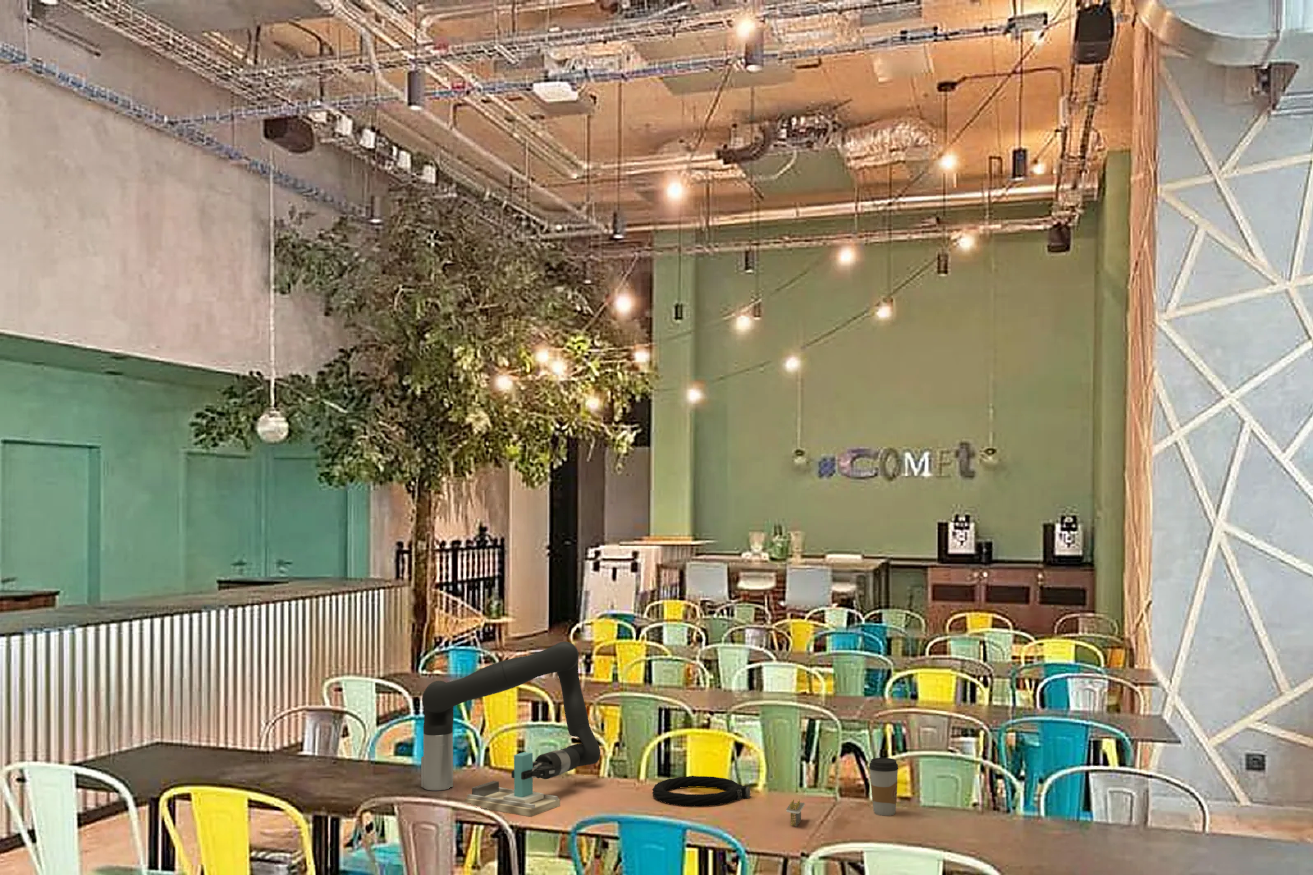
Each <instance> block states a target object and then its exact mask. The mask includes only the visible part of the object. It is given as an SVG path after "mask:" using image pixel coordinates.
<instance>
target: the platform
mask: <svg viewBox="0 0 1313 875" xmlns="http://www.w3.org/2000/svg"><path fill="white" fill-rule="evenodd" d="M805 805H806V803H805V802H801V800H800V799H798V801H797V802H795V799H794V798H792V800H791V802H790V803H789V804H788V806H787V807H786V810H785V811H786V813H790V826H795V828H797V827H798V826H799V825H800V822H801V821H802V810H803V809H804V807H805Z"/></svg>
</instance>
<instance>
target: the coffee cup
mask: <svg viewBox="0 0 1313 875" xmlns="http://www.w3.org/2000/svg"><path fill="white" fill-rule="evenodd" d="M868 768H869V774H870V775H869V776H870V789H871V802H872V809H873V810H872V812H874V814H875V815H877V816H887V817H888V816H889V817H890V816H893V815H895V814H896V811H897V801H898V800H897V798H898V774H899V773H898V772H899V764H898V763H897V760H896V759H895V758H890V757H874V758H871V759H870V762H869V767H868Z"/></svg>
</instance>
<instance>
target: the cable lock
mask: <svg viewBox="0 0 1313 875" xmlns="http://www.w3.org/2000/svg"><path fill="white" fill-rule="evenodd" d="M688 786H705V787H704V788H708V787H717V788H716V789H718V788H720V789H719V790H722V789H723V791H720V792H716V793H704V794H703V793H702V794H701V793H699V794H696V793H695V794H692V793H691V794H689V793H681V792H679V793H678V792H673V791H672V789H673V790H677V788H678V789H681V788H680V787H688ZM688 788H689V787H688ZM651 794H652V796H653V798H654V799H655V800H658V801H659V802H661V801H662V802H661V803H665V802H666V803H665V804H667V803H669V804H668V805H671V804H673V805H674V804H675V806H680V805H681V806H680V807H710V806H709V805H714V806H719V805H725V804H724V803H726V804H729V802H730V803H731V802H734V801H740V800H746V799H750V798H751V787H750V785H748V786H747V785H743V784H740V783H737V782H736V781H734V780H733V779H729V778H725V777H717V776H707V775H706V776H704V775H703V776H702V775H701V776H700V775H699V776H698V775H688V776H677V777H675V778H667V779H664V780H662V781H658V782H657V783H656V784H654V786H653V787H652V793H651Z"/></svg>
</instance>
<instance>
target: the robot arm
mask: <svg viewBox="0 0 1313 875" xmlns="http://www.w3.org/2000/svg"><path fill="white" fill-rule="evenodd" d="M579 653H580V652H579V650H578V648H577V647H576V646H575V645H574V644H573V643H572V642H570V641H569V642H568V641H560V642H557V643H555V644H554V645H551V646H550V647H548V648H545V649H543V650H539V651H537V652H535V653H532V654H529V655H523V656H522V655H521V656H517V657H513V658H508V659H504V660H502V661H499V662H495V663H492V664H490V665H487V666H484V667H482V668H480V669H478V670H477V671H474V672H472V673H470V674H468V675H467V676H464V677H462V678H459V679H456V680H451V681H443V680H435V681H433V682H431V683H430V684H428V685H427V687H426V688H425V689H424V691H423V693H422V696H421V697H422V698H421V700H422V705H423V707H424V714H423V716H424V719H423V720H424V721H423V728H422V730H423V732H422V733H423V756H421V759H420V765H421V769H420V770H421V771H420V772H421V773H420V774H421V775H420V776H421V777H420V779H421V780H420V782H421V784H420V786H421V788H423V789H424V790H428V791H444V790H449V788H450V787H452V788H453V787H454V735H453V734H454V730H453V729H454V708H455V707H456V706H458V705H461V704H462V703H463V704H464V703H465V702H468V701H471V700H475V699H480V698H485V697H487V696H491V695H495V694H499V693H502V692H505V691H509V690H510V689H514V688H516V687H519V686H522V685H524V684H526V683H527V682H530V681H532V680H534V679H537V678H539V677H543V676H545V675H550V674H554V673H557V677H558V680H559V684H560V688H561V694H562V702H563V710H564V715H565V720H566V721H565V722H566V727H567V731H568V734H569V735H570V737H573V738H574V737H575V738H578V739H579V740H580V742H581V743H574V744H572V745H568V746H566V747H565V748H561V749H557V750H552V751H551V750H550V751H548V752H545V753H542V754H539V755H538V756H537V757H536V758H535V760H534V761H533V768H532V769H531V770H527V771H524V772H521V779H522V780H525V779H528V778H533V779H534V778H537V779H542V780H548V779H552V778H555V777H557V776H561V775H564V773H566V772H570V771H572V770H574V769H576V768H578V767H582V766H590V765H595V764H597V763H598V762H599V761H600V757H601V749H600V745H599V742H598V741H597V738H596V737H595V735H594V733H593V730H592V728H591V725H590V720H589V716H588V711H587V707H586V703H585V698H584V696H583V695H584V694H583V691H582V688H581V681H580V675H579V659H580V658H579V657H580V655H579ZM510 773H511V779H514V769H513V770H511V772H510ZM450 789H451V788H450Z"/></svg>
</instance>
